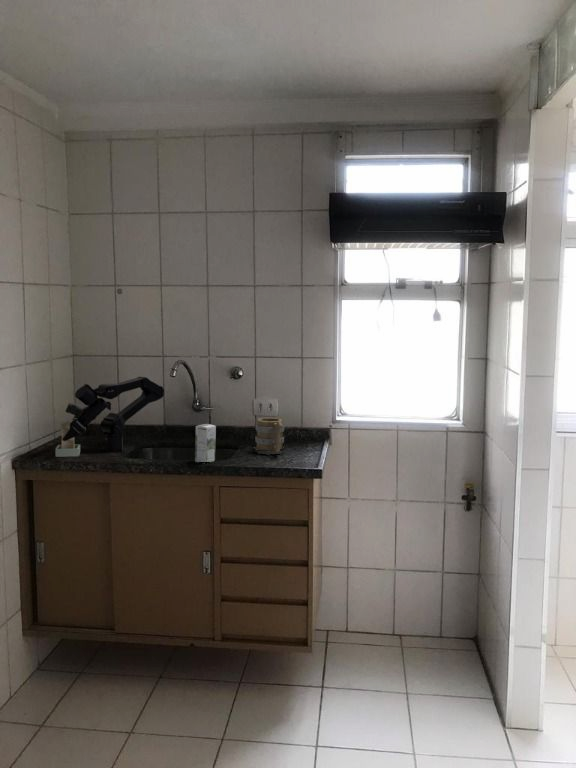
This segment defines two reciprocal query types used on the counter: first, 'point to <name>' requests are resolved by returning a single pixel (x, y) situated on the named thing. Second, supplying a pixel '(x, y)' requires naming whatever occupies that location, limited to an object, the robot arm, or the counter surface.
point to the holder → (67, 451)
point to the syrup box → (205, 443)
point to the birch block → (65, 428)
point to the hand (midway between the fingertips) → (64, 438)
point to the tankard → (269, 434)
